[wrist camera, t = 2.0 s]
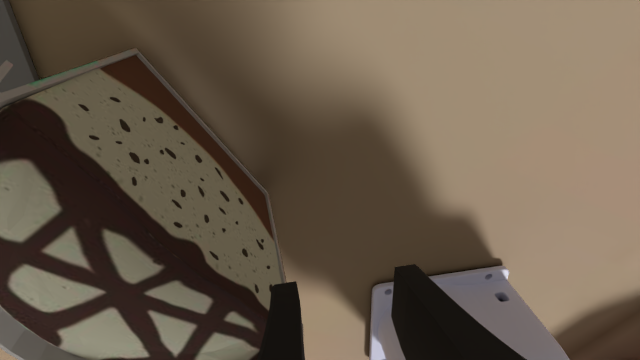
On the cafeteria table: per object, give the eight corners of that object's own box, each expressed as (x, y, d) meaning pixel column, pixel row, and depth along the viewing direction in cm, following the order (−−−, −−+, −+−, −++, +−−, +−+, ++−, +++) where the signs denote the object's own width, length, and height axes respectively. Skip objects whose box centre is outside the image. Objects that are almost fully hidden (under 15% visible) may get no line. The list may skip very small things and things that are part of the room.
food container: (1, 103, 17) (-245, 251, 8) (107, 16, 16) (-49, 83, 8) (199, 267, 23) (172, 451, 14) (285, 211, 22) (310, 372, 14)
